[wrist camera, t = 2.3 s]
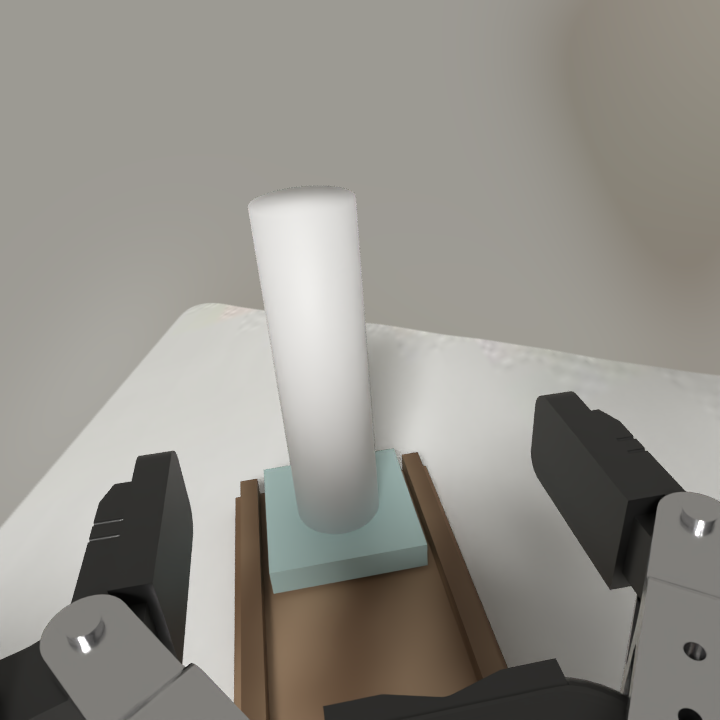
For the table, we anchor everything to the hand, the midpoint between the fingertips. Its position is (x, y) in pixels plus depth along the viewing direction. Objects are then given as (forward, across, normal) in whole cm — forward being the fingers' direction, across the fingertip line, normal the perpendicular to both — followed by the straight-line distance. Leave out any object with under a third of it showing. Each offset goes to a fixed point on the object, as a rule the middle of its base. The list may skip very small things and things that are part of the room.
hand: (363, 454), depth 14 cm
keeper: (+15, 0, +17) cm, 23 cm away
